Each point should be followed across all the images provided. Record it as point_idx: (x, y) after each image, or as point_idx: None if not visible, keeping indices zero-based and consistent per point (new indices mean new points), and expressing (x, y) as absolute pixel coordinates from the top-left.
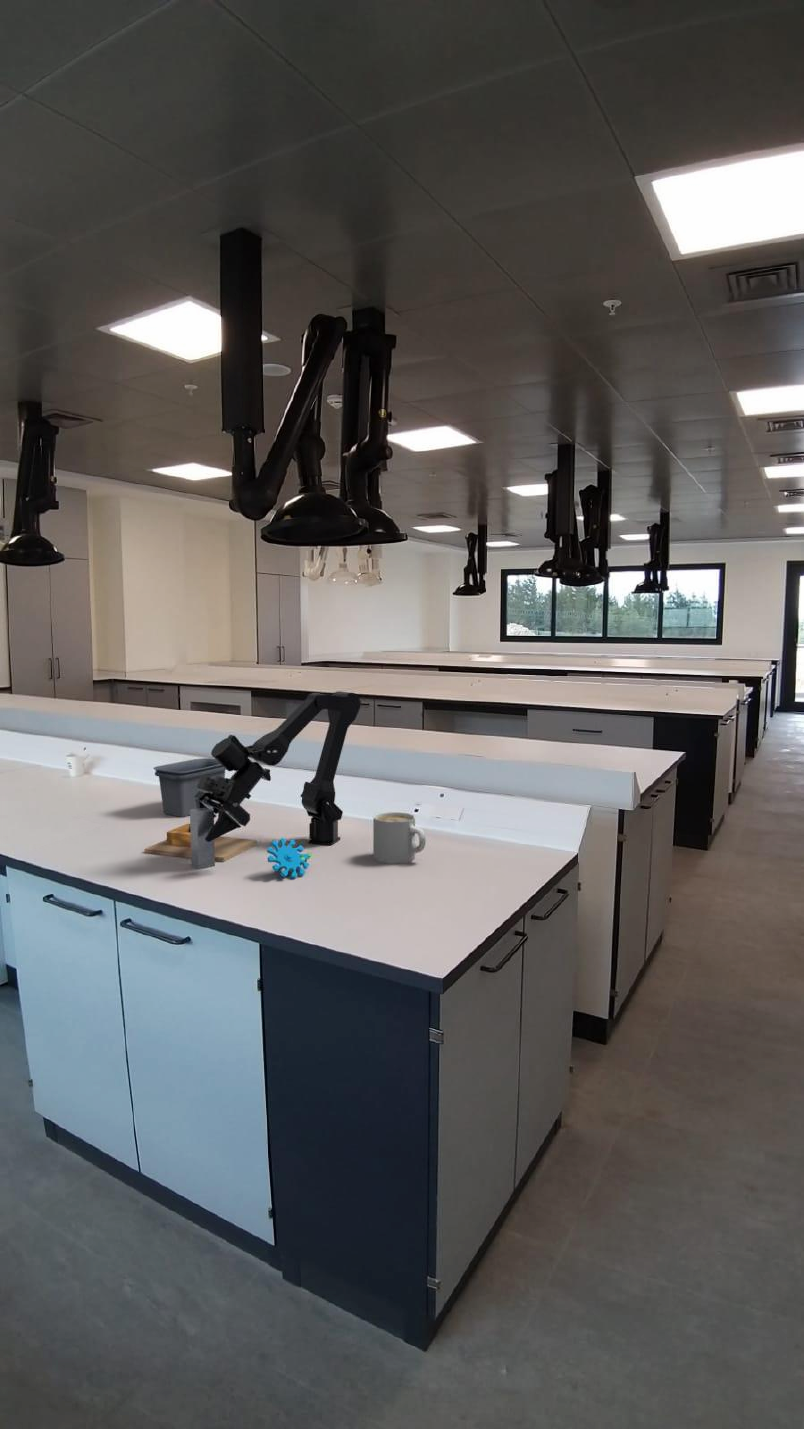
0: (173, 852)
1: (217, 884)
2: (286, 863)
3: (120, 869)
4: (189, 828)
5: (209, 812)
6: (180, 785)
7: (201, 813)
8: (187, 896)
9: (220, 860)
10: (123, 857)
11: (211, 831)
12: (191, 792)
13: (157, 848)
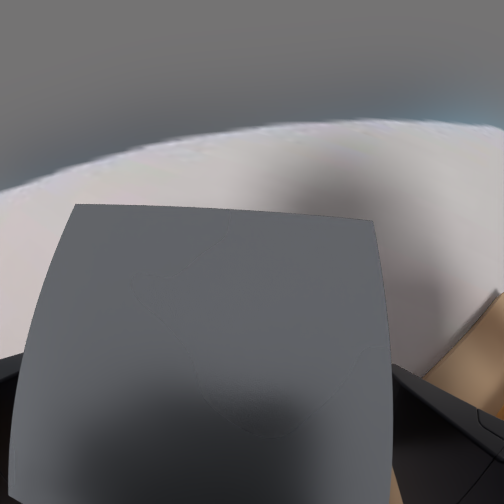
0: (441, 364)
1: (21, 322)
2: None
3: (368, 187)
4: (399, 369)
5: (25, 418)
6: None
7: (56, 275)
8: (29, 220)
9: None
10: (471, 237)
11: (22, 353)
12: None
13: (496, 327)
